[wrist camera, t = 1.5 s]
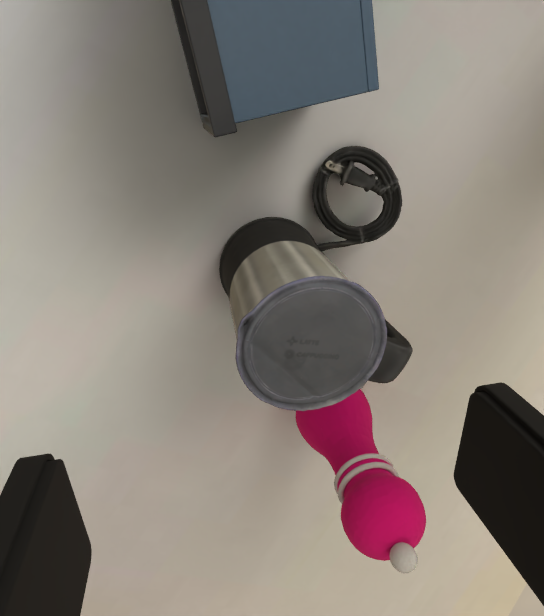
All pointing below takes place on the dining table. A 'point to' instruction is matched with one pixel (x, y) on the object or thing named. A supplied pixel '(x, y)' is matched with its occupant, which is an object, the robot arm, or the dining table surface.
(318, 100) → the blue storage bin
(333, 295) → the milk frother
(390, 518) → the pepper mill
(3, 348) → the dining table surface
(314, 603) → the dining table surface
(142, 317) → the dining table surface
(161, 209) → the dining table surface
